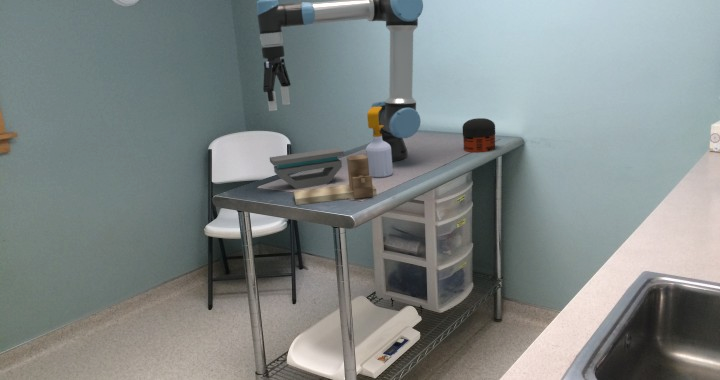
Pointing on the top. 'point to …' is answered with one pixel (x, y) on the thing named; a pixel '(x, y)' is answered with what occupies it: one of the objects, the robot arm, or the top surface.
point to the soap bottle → (378, 148)
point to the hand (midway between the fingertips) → (280, 107)
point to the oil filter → (479, 135)
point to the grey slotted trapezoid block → (308, 167)
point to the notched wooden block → (359, 176)
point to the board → (325, 194)
